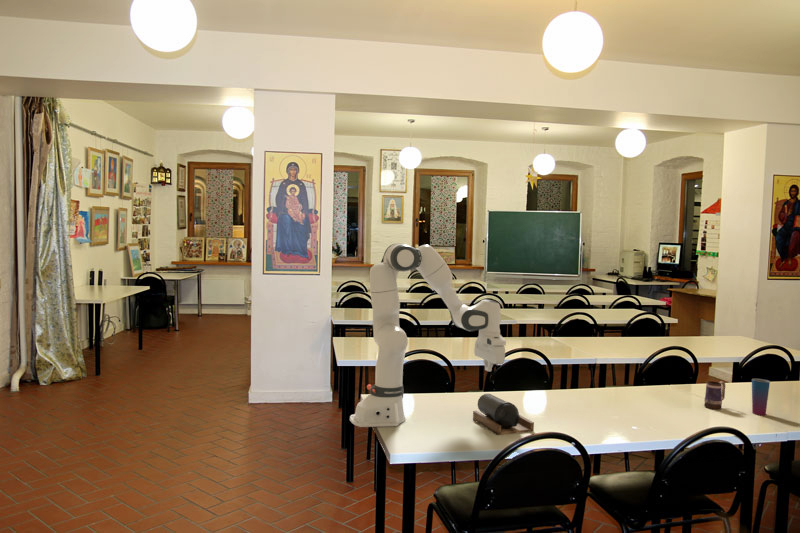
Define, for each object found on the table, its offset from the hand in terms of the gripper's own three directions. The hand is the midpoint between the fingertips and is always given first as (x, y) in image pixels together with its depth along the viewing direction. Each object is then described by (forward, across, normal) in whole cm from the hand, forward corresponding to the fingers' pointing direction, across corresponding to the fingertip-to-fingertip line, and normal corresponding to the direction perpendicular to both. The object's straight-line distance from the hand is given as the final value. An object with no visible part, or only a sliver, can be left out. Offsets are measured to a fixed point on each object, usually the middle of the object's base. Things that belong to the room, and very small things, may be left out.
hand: (488, 370), depth 240 cm
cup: (+19, +29, +121) cm, 126 cm away
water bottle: (+14, 0, 0) cm, 14 cm away
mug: (+19, +16, +110) cm, 113 cm away
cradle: (+19, +13, 0) cm, 23 cm away
